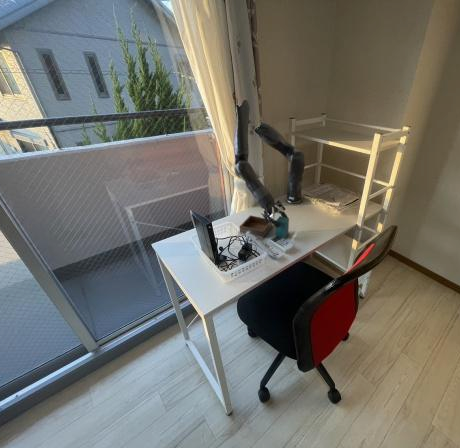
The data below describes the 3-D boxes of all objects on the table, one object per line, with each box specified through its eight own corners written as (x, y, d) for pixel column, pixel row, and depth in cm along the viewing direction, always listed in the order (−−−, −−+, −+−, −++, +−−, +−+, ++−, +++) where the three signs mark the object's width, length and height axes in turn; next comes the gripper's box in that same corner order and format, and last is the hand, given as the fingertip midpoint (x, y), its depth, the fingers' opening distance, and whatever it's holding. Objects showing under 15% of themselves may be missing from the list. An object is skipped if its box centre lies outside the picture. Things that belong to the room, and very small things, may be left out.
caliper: (246, 239, 122) (245, 229, 119) (247, 238, 123) (247, 228, 120) (274, 259, 110) (274, 247, 107) (276, 257, 111) (276, 246, 108)
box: (250, 221, 136) (250, 215, 134) (272, 226, 133) (272, 220, 131) (240, 233, 127) (239, 226, 124) (263, 238, 123) (262, 231, 121)
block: (279, 232, 129) (279, 216, 123) (288, 234, 127) (289, 218, 122) (275, 237, 125) (276, 220, 119) (284, 239, 123) (285, 223, 118)
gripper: (266, 195, 128) (284, 219, 130) (250, 206, 118) (270, 232, 119) (275, 188, 123) (294, 213, 125) (259, 198, 113) (280, 226, 114)
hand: (282, 223), depth 122 cm, fingers open, 8 cm apart
